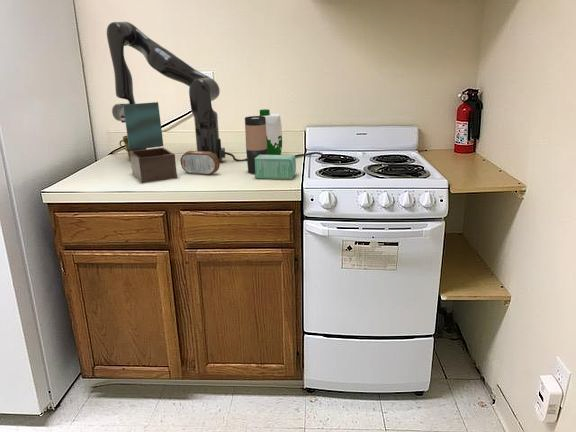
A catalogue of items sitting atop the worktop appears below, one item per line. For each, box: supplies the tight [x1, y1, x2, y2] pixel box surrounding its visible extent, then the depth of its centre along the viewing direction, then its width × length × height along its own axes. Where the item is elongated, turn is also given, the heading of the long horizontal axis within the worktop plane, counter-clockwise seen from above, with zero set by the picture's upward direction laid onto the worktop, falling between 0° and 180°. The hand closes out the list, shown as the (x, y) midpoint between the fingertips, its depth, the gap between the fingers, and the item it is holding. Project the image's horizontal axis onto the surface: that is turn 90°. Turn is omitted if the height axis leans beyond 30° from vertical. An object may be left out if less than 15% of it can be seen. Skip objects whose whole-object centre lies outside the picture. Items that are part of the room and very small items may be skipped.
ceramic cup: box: [118, 135, 147, 162], centre depth 209 cm, size 13×10×10 cm
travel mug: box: [244, 115, 267, 175], centre depth 182 cm, size 8×8×20 cm
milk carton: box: [258, 108, 283, 155], centre depth 203 cm, size 9×9×20 cm
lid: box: [123, 101, 164, 150], centre depth 184 cm, size 16×13×1 cm
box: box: [254, 154, 297, 180], centre depth 175 cm, size 7×14×8 cm, turn 79°
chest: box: [130, 147, 178, 184], centre depth 181 cm, size 16×13×9 cm
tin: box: [180, 150, 220, 176], centre depth 182 cm, size 15×3×8 cm, turn 71°
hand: (142, 120), depth 183 cm, fingers closed
